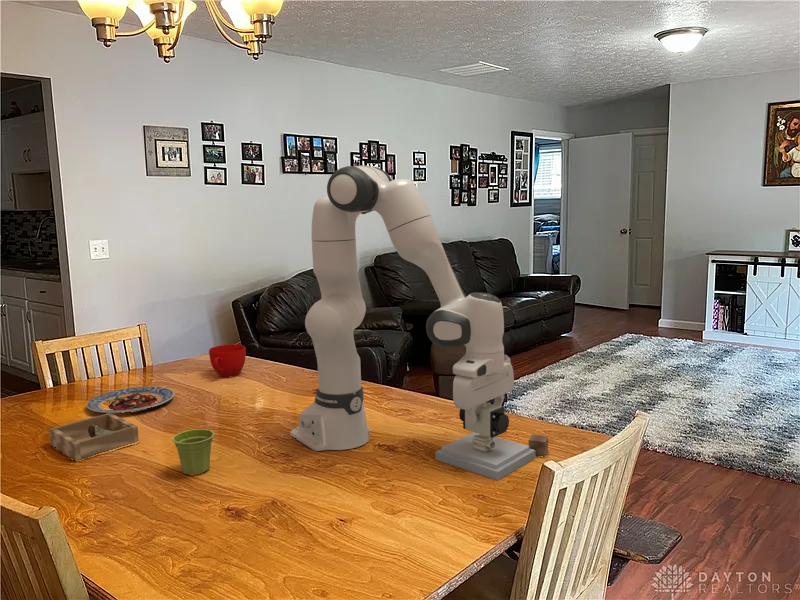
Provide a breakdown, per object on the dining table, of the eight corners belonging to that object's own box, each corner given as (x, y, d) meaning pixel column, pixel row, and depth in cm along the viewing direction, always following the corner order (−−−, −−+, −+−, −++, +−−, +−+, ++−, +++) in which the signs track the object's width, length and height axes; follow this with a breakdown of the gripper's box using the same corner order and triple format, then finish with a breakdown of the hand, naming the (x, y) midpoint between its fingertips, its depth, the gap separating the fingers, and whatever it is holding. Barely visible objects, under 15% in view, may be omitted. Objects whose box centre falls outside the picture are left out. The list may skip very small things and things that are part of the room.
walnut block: (528, 455, 157) (528, 440, 156) (531, 449, 160) (531, 434, 160) (544, 457, 155) (545, 442, 155) (547, 451, 159) (548, 436, 158)
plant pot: (173, 466, 155) (170, 432, 154) (214, 459, 159) (211, 426, 158) (177, 482, 147) (173, 446, 145) (219, 474, 151) (216, 438, 149)
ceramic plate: (191, 399, 208) (191, 390, 207) (120, 424, 187) (119, 414, 186) (142, 388, 222) (141, 380, 221) (70, 410, 200) (69, 401, 200)
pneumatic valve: (497, 458, 148) (497, 408, 146) (458, 445, 156) (458, 398, 154) (511, 452, 152) (512, 403, 150) (473, 439, 160) (473, 392, 158)
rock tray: (51, 445, 171) (49, 428, 170) (111, 429, 182) (109, 412, 181) (76, 462, 159) (74, 444, 158) (139, 443, 171) (137, 426, 170)
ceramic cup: (199, 382, 226) (197, 355, 225) (220, 369, 243) (218, 344, 241) (233, 383, 224) (232, 355, 223) (252, 370, 241) (251, 344, 239)
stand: (435, 459, 156) (435, 447, 155) (474, 440, 167) (474, 429, 167) (497, 480, 143) (497, 467, 143) (535, 458, 155) (535, 446, 155)
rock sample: (133, 426, 170) (103, 409, 167) (116, 451, 166) (85, 434, 163) (123, 433, 178) (94, 416, 175) (106, 457, 173) (77, 441, 170)
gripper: (498, 351, 161) (498, 404, 163) (447, 368, 146) (448, 426, 149) (520, 354, 157) (520, 409, 159) (470, 372, 142) (470, 432, 144)
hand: (485, 417), depth 154 cm, fingers open, 8 cm apart
